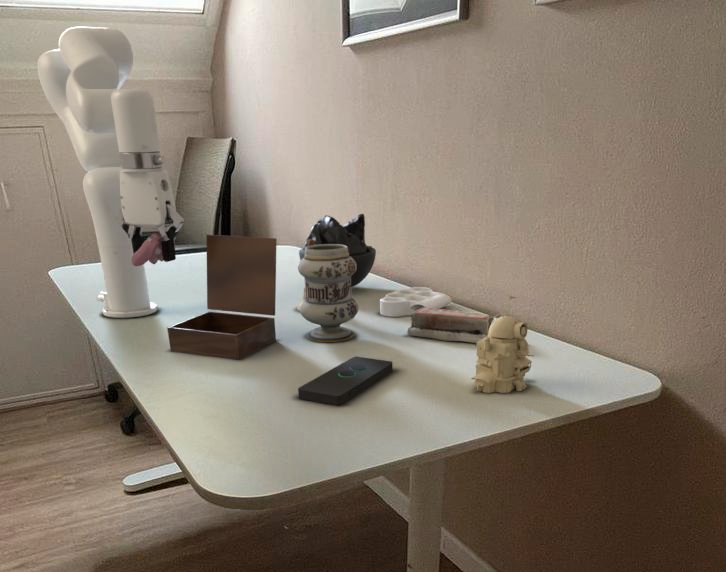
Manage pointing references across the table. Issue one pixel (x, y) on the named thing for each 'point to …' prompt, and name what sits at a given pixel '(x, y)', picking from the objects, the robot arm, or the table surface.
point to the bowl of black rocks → (345, 242)
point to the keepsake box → (222, 334)
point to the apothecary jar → (328, 291)
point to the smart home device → (345, 380)
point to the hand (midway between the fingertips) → (155, 258)
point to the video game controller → (149, 251)
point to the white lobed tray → (412, 301)
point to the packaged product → (449, 325)
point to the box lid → (241, 274)
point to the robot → (503, 356)
